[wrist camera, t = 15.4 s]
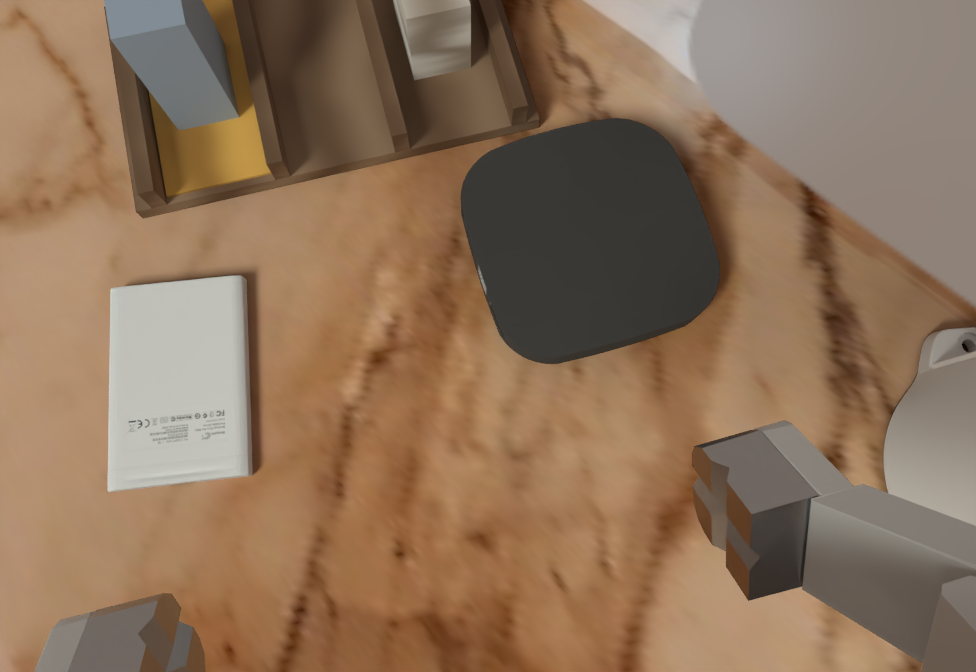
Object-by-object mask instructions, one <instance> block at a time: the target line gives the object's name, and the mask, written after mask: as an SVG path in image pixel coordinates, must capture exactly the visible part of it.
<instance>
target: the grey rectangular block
mask: <svg viewBox="0 0 976 672" xmlns="http://www.w3.org/2000/svg"><path fill="white" fill-rule="evenodd" d="M104 2H105V8H106V15H107V21H108V27H109V34H110V40H111V41H112V42H113V44H114V45H115V46H116V48H117V49H118V50H119V52H120V53H121V54H122V56H123V57H124V58H125V60H126V61H127V62H128V64H129V65H130V66H131V68H132V69H133V70H134V72H135V73H136V74H137V76H138V77H139V78H140V79H141V81H142V82H143V83H144V85H145V86H146V87H147V89H148V90H149V91H150V93H151V94H152V95H153V97H154V98H155V99H156V101H157V102H158V103H159V105H160V106H161V107H162V109H163V110H164V111H165V113H166V114H167V115H168V117H169V118H170V119H171V121H172V122H173V123H174V125H175V126H176V127H177V129H178V130H179V131H180V130H184V129H189V128H194V127H198V126H203V125H207V124H212V123H216V122H221V121H225V120H230V119H234V118H239V113H238V108H237V103H236V98H235V93H234V88H233V83H232V78H231V73H230V68H229V63H228V58H227V54H226V49H225V44H224V41H223V39H222V37H221V35H220V33H219V31H218V29H217V27H216V25H215V24H214V22H213V20H212V18H211V16H210V14H209V12H208V10H207V8H206V6H205V4H204V2H203V0H104Z"/></svg>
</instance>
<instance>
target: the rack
mask: <svg viewBox="0 0 976 672" xmlns="http://www.w3.org/2000/svg"><path fill="white" fill-rule="evenodd" d="M203 2H204V4H205V6H206V8H207V10H208V12H209V14H210V16H211V18H212V20H213V22H214V24H215V25H216V27H217V29H218V31H219V33H220V35H221V37H222V39H223V41H224V44H225V49H226V54H227V58H228V63H229V68H230V73H231V78H232V83H233V88H234V93H235V98H236V103H237V108H238V113H239V118H234V119H230V120H225V121H221V122H216V123H212V124H207V125H203V126H198V127H194V128H189V129H184V130H180V131H179V130H178V129H177V127H176V126H175V125H174V123H173V122H172V121H171V119H170V118H169V117H168V115H167V114H166V113H165V111H164V110H163V109H162V107H161V106H160V105H159V103H158V102H157V101H156V99H155V98H154V97H153V95H152V94H151V93H150V91H149V90H148V89H147V87H146V86H145V85H144V83H143V82H142V81H141V79H140V78H139V77H138V76H137V74H136V73H135V72H134V70H133V69H132V68H131V66H130V65H129V64H128V62H127V61H126V60H125V58H124V57H123V56H122V54H121V53H120V52H119V50H118V49H117V48H116V46H115V45H114V44H113V42H112V41H111V40H110V34H109V27H108V21H107V15H106V8H105V7H104V9H105V15H106V21H107V28H108V34H109V41H110V47H111V54H112V60H113V67H114V73H115V79H116V86H117V92H118V99H119V105H120V112H121V118H122V125H123V131H124V138H125V144H126V150H127V157H128V163H129V170H130V176H131V183H132V189H133V196H134V202H135V208H136V212H137V213H138V214H139V215H140V216H141V217H142V218H147V217H151V216H155V215H160V214H164V213H168V212H173V211H177V210H181V209H186V208H190V207H195V206H199V205H203V204H208V203H212V202H216V201H221V200H225V199H229V198H234V197H238V196H242V195H247V194H251V193H255V192H260V191H264V190H268V189H273V188H277V187H281V186H286V185H290V184H295V183H299V182H303V181H308V180H312V179H316V178H321V177H325V176H329V175H334V174H338V173H342V172H347V171H351V170H355V169H360V168H364V167H368V166H373V165H377V164H382V163H386V162H390V161H395V160H399V159H403V158H408V157H412V156H416V155H421V154H425V153H429V152H434V151H438V150H442V149H447V148H451V147H455V146H460V145H464V144H469V143H473V142H477V141H482V140H486V139H490V138H495V137H499V136H503V135H508V134H512V133H516V132H521V131H525V130H529V129H534V128H538V127H539V123H540V118H539V114H538V111H537V108H536V105H535V102H534V99H533V96H532V93H531V90H530V87H529V84H528V81H527V77H526V74H525V71H524V68H523V65H522V62H521V59H520V56H519V53H518V50H517V47H516V44H515V40H514V37H513V34H512V31H511V28H510V25H509V22H508V19H507V16H506V13H505V10H504V7H503V3H502V0H203Z"/></svg>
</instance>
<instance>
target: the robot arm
mask: <svg viewBox="0 0 976 672" xmlns="http://www.w3.org/2000/svg"><path fill="white" fill-rule="evenodd" d="M962 343H964V344H965V345H966V346H967V348H968V352H966V351H965V350H964V349H963V348H962ZM692 466H693V468H694V469H695V471H696V472H697V474H698V475H699V476H700V477H699V478H698V479H697V481H696V482H695V484H694V485H693V501H694V506H695V510H696V513H697V517H698V520H699V522H700V524H701V526H702V528H703V531H704V533H705V534H706V536H707V537H708V539H709V541H710V542H711V544H712V545H714V546H716V547H718V548H720V549H722V550H724V551H726V567H727V569H728V570H729V572H730V573H731V575H732V576H733V578H734V579H735V581H736V582H737V584H738V585H739V587H740V588H741V590H742V592H743V593H744V595H745V596H746V598H747V599H748V601H749V600H753V599H757V598H760V597H764V596H768V595H772V594H775V593H779V592H783V591H787V590H790V589H794V588H798V587H802V589H803V590H804V591H806V592H807V593H809V594H811V595H812V596H814V597H816V598H817V599H819V600H820V601H822V602H824V603H825V604H827V605H829V606H830V607H832V608H833V609H835V610H837V611H838V612H840V613H842V614H843V615H845V616H846V617H848V618H850V619H851V620H853V621H855V622H856V623H858V624H859V625H861V626H863V627H864V628H866V629H868V630H869V631H871V632H872V633H874V634H876V635H877V636H879V637H881V638H882V639H884V640H885V641H887V642H889V643H890V644H892V645H893V646H895V647H897V648H898V649H900V650H902V651H903V652H905V653H906V654H908V655H910V656H911V657H913V658H915V659H916V660H918V661H919V662H921V663H923V665H922V669H921V672H976V327H971V328H955V329H946V330H941V331H937V332H934V333H931V334H930V335H929V336H928V337H927V338H926V339H925V341H924V344H923V347H922V350H921V355H920V360H919V367H918V374H917V376H916V378H915V381H914V382H913V384H912V385H911V387H910V388H909V390H908V391H907V392H906V394H905V395H904V397H903V398H902V399H901V401H900V402H899V404H898V406H897V407H896V409H895V411H894V413H893V415H892V418H891V420H890V423H889V426H888V429H887V434H886V438H885V445H884V473H885V480H886V485H887V489H888V493H886V492H883V491H881V490H878V489H875V488H873V487H870V486H867V485H865V484H862V485H858V486H853V485H852V484H851V483H850V482H849V481H848V480H847V479H846V478H845V477H844V476H843V475H842V474H841V473H840V472H839V471H838V470H837V469H836V468H835V467H834V466H833V465H832V464H831V463H830V462H829V461H828V460H827V459H826V458H825V456H824V455H823V454H822V453H821V452H820V451H819V450H818V449H817V448H816V447H815V446H814V445H813V444H812V443H811V442H810V441H809V440H808V439H807V438H806V437H805V436H804V435H803V434H802V433H801V432H800V431H799V430H798V429H797V428H796V427H795V426H794V425H793V424H792V423H790V422H788V421H785V420H783V421H780V422H776V423H773V424H770V425H766V426H763V427H759V428H756V429H754V430H749V431H746V432H742V433H739V434H735V435H732V436H728V437H725V438H721V439H718V440H714V441H711V442H707V443H704V444H700V445H697V446H694V449H693V452H692ZM180 612H181V607H180V605H179V604H178V602H177V601H176V599H175V598H174V597H173V595H172V594H169V593H162V594H158V595H154V596H150V597H146V598H142V599H138V600H135V601H131V602H127V603H123V604H119V605H115V606H111V607H107V608H103V609H99V610H96V611H94V612H90V613H86V614H82V615H78V616H74V617H70V618H66V619H61V620H60V621H59V622H58V623H57V624H56V625H55V626H54V627H53V628H52V630H51V632H50V634H49V637H48V639H47V642H46V644H45V647H44V649H43V652H42V654H41V656H40V659H39V661H38V664H37V666H36V669H35V671H34V672H206V670H205V656H204V650H203V647H202V644H201V641H200V638H199V636H198V634H197V633H196V631H195V629H194V628H193V627H191V626H189V625H187V624H184V623H182V622H179V617H180Z"/></svg>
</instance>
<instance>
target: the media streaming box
mask: <svg viewBox="0 0 976 672" xmlns="http://www.w3.org/2000/svg"><path fill="white" fill-rule="evenodd" d="M461 213H462V218H463V222H464V226H465V230H466V234H467V238H468V242H469V245H470V249H471V253H472V256H473V259H474V263H475V266H476V269H477V272H478V276H479V279H480V282H481V285H482V288H483V291H484V294H485V297H486V299H487V302H488V305H489V308H490V311H491V313H492V316H493V319H494V321H495V324H496V326H497V329H498V332H499V334H500V336H501V337H502V339H503V340H504V341H505V342H506V344H507V345H508V346H509V347H510V348H511V349H513V350H514V351H515V352H516V353H518V354H519V355H521V356H523V357H525V358H527V359H529V360H532V361H535V362H539V363H545V364H558V363H562V362H567V361H571V360H575V359H580V358H584V357H588V356H592V355H595V354H599V353H603V352H606V351H610V350H614V349H617V348H621V347H624V346H627V345H631V344H634V343H637V342H640V341H643V340H646V339H650V338H653V337H656V336H658V335H661V334H664V333H667V332H670V331H673V330H676V329H678V328H681V327H684V326H685V325H687V324H688V323H690V322H691V321H692V320H693V319H695V318H696V317H697V316H698V315H699V314H700V313H701V312H702V311H703V310H704V309H705V308H706V307H707V306H708V305H709V304H710V302H711V301H712V299H713V297H714V295H715V293H716V290H717V287H718V283H719V276H720V265H719V260H718V256H717V252H716V249H715V245H714V242H713V239H712V236H711V233H710V230H709V227H708V224H707V221H706V218H705V215H704V213H703V210H702V208H701V205H700V202H699V200H698V198H697V195H696V193H695V191H694V188H693V186H692V184H691V182H690V180H689V177H688V175H687V173H686V171H685V169H684V167H683V165H682V163H681V162H680V160H679V158H678V156H677V154H676V152H675V151H674V149H673V147H672V146H671V144H670V143H669V142H668V141H667V140H666V139H665V138H664V137H663V136H662V135H661V134H659V133H658V132H656V131H655V130H653V129H652V128H650V127H648V126H646V125H644V124H641V123H638V122H636V121H632V120H627V119H620V118H613V119H605V120H598V121H592V122H586V123H581V124H576V125H571V126H567V127H562V128H558V129H554V130H550V131H547V132H543V133H540V134H536V135H533V136H530V137H527V138H524V139H521V140H518V141H515V142H512V143H509V144H507V145H504V146H501V147H499V148H496V149H494V150H491V151H490V152H488V153H486V154H485V155H484V156H482V157H481V158H480V159H479V160H478V161H477V162H476V163H475V164H474V165H473V166H472V168H471V169H470V170H469V172H468V174H467V175H466V177H465V180H464V182H463V186H462V190H461Z"/></svg>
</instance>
